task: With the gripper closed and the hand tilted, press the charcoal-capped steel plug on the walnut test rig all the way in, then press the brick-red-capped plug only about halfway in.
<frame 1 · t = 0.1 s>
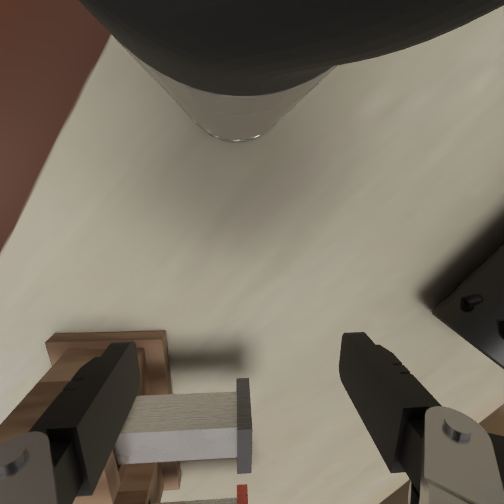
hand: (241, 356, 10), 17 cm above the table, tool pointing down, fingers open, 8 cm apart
charcoal plug: (166, 426, 23), point 8 cm above the table, slide at 0.0 cm
test rig: (126, 415, 33), on the table
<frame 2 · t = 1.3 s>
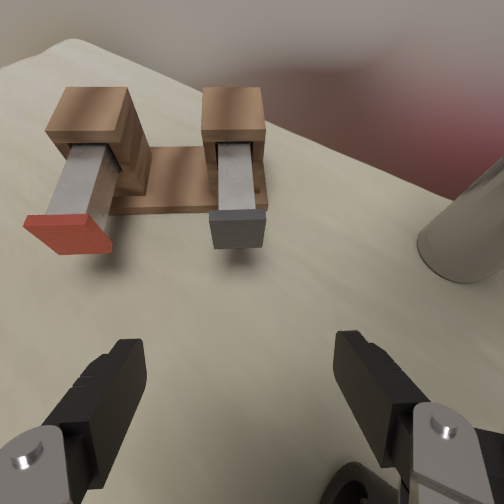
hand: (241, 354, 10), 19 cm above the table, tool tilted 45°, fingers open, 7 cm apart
charcoal plug: (235, 179, 30), point 8 cm above the table, slide at 0.0 cm
red plug: (89, 182, 29), point 8 cm above the table, slide at 0.0 cm
test rig: (182, 181, 40), on the table
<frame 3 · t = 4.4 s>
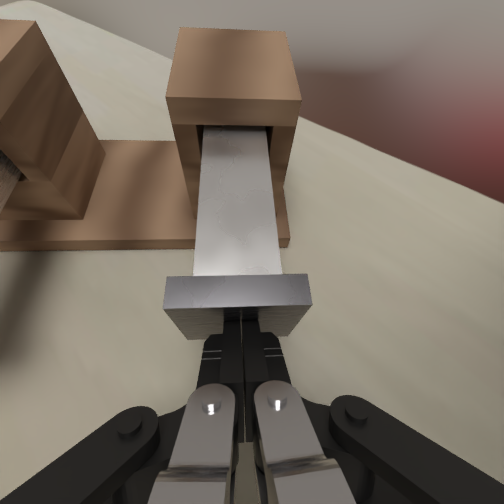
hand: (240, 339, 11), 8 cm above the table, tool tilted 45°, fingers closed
charcoal plug: (235, 193, 15), point 8 cm above the table, slide at 0.6 cm, touching gripper
test rig: (151, 195, 25), on the table
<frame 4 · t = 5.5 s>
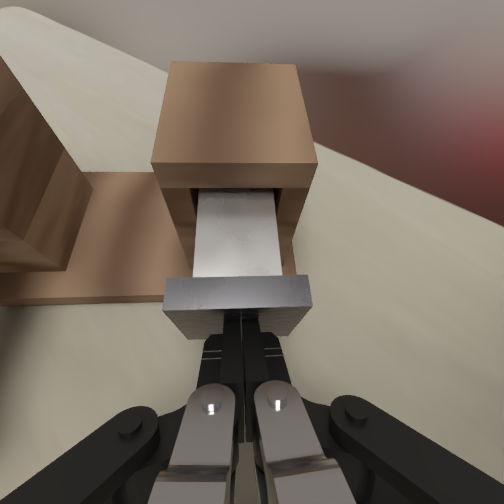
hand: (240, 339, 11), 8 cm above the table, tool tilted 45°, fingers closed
charcoal plug: (236, 192, 15), point 8 cm above the table, slide at 5.3 cm, touching gripper
test rig: (143, 235, 23), on the table
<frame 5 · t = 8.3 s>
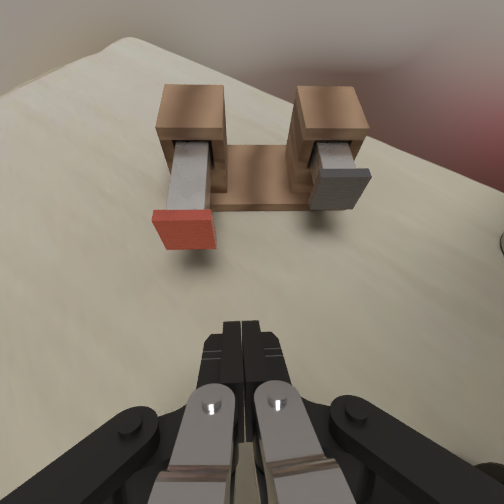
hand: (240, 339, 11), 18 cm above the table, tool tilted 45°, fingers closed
charcoal plug: (326, 147, 32), point 8 cm above the table, slide at 5.1 cm
red plug: (192, 178, 29), point 8 cm above the table, slide at 0.0 cm
test rig: (257, 179, 40), on the table
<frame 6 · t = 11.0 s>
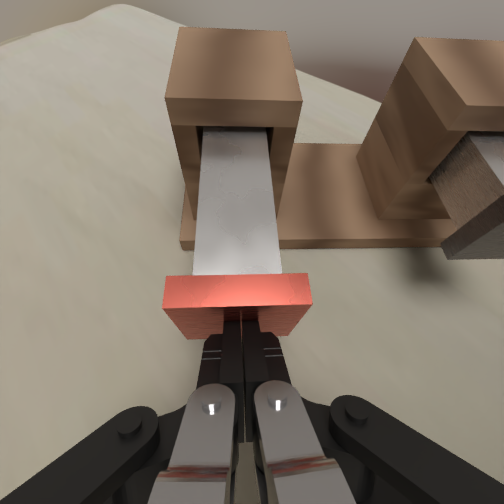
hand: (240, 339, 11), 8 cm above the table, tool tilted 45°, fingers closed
charcoal plug: (463, 145, 18), point 8 cm above the table, slide at 5.1 cm
red plug: (235, 192, 15), point 8 cm above the table, slide at 0.8 cm, touching gripper
test rig: (315, 196, 26), on the table
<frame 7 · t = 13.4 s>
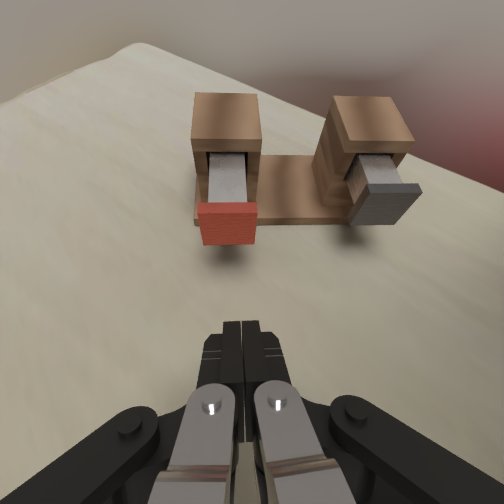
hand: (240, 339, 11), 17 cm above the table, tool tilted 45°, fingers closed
charcoal plug: (363, 159, 31), point 8 cm above the table, slide at 5.1 cm
red plug: (227, 172, 28), point 8 cm above the table, slide at 2.9 cm
test rig: (283, 191, 38), on the table
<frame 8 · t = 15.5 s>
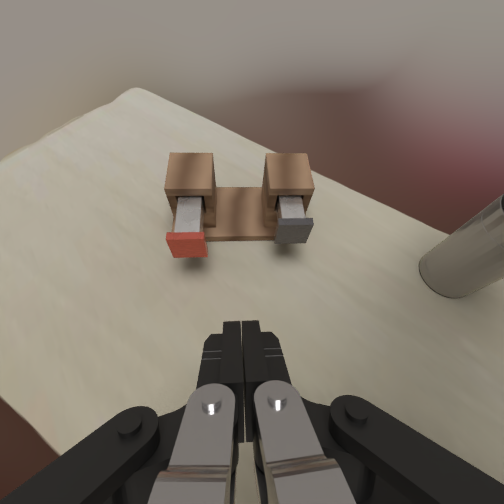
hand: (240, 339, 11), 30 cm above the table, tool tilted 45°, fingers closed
charcoal plug: (287, 197, 44), point 8 cm above the table, slide at 5.1 cm
red plug: (191, 208, 42), point 8 cm above the table, slide at 2.9 cm
test rig: (239, 215, 52), on the table
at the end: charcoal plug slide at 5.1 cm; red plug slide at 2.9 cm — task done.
